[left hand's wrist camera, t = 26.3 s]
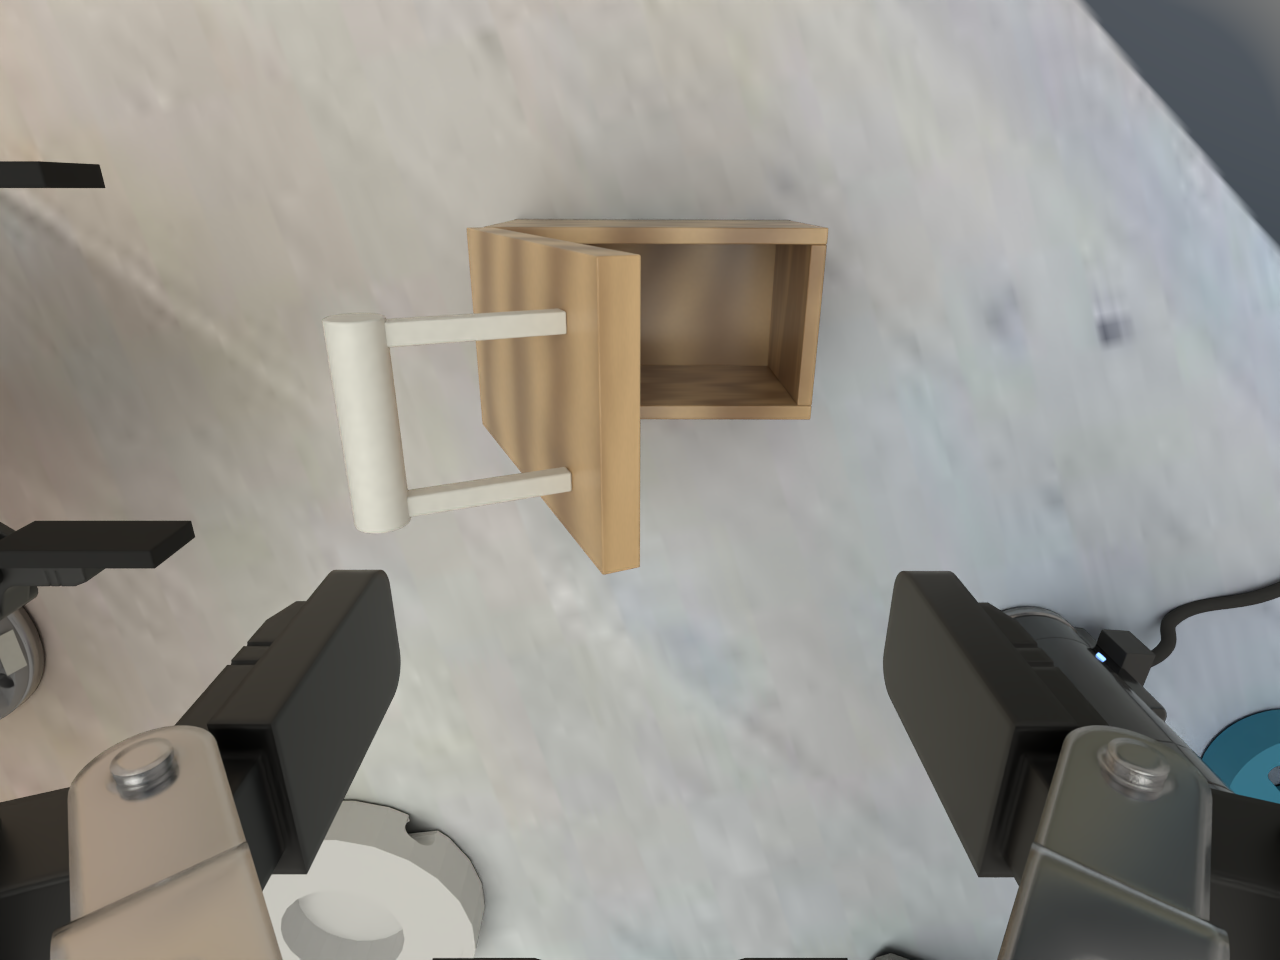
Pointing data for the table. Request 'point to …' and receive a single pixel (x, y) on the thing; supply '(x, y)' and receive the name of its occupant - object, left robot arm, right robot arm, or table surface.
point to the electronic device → (891, 957)
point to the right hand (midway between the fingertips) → (130, 377)
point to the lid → (514, 391)
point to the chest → (717, 311)
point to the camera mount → (1248, 755)
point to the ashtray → (378, 894)
